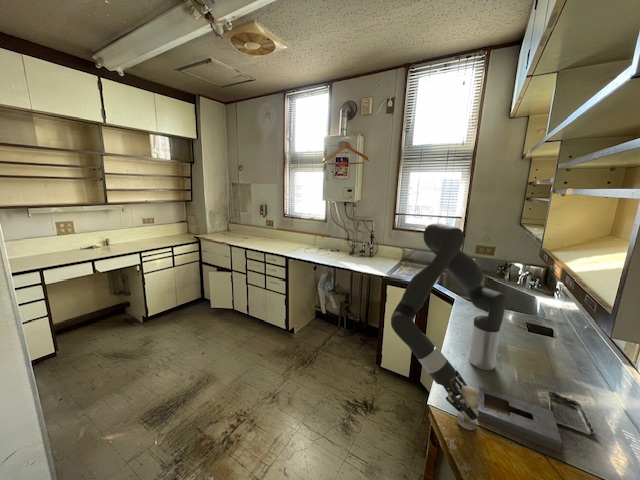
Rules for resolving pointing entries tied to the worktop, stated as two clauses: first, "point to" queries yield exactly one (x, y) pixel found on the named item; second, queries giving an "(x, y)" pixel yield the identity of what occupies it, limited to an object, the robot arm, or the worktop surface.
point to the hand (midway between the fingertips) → (474, 412)
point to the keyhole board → (519, 418)
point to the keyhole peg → (471, 400)
